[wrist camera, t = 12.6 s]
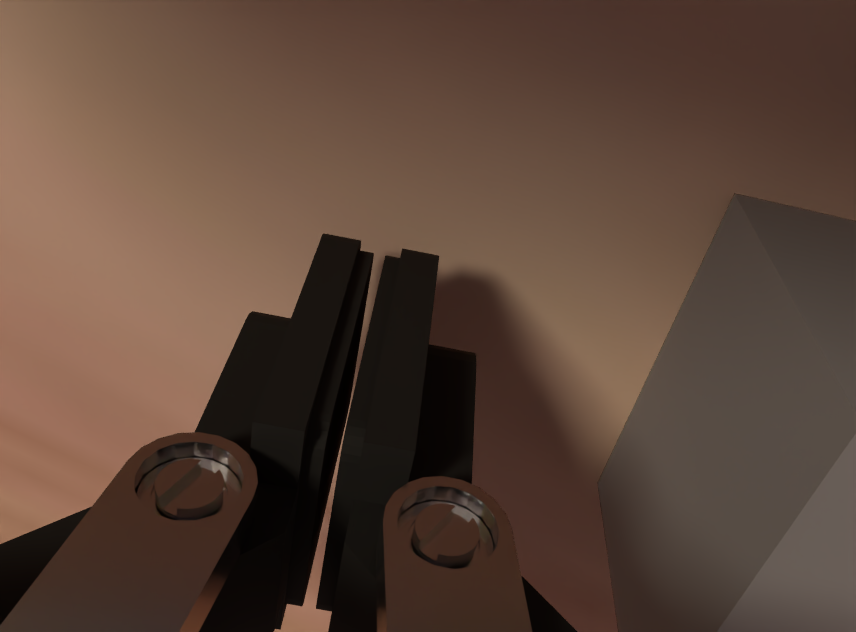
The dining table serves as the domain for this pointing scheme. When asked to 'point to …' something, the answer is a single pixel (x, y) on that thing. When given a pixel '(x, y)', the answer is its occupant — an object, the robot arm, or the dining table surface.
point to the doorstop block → (745, 440)
